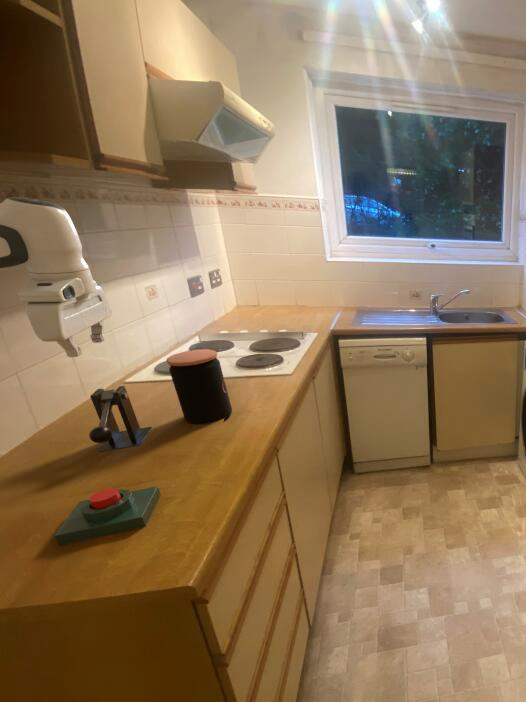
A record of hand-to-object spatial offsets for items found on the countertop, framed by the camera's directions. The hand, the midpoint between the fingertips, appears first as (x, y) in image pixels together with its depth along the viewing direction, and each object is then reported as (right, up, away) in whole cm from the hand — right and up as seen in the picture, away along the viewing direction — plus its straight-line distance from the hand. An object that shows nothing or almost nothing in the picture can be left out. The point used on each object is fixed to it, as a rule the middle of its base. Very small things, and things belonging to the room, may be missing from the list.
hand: (87, 348), depth 94 cm
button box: (+18, -33, -14) cm, 40 cm away
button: (+18, -29, -15) cm, 38 cm away
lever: (0, -16, +5) cm, 17 cm away
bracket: (-1, -22, +11) cm, 25 cm away
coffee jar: (+10, -17, +23) cm, 31 cm away
